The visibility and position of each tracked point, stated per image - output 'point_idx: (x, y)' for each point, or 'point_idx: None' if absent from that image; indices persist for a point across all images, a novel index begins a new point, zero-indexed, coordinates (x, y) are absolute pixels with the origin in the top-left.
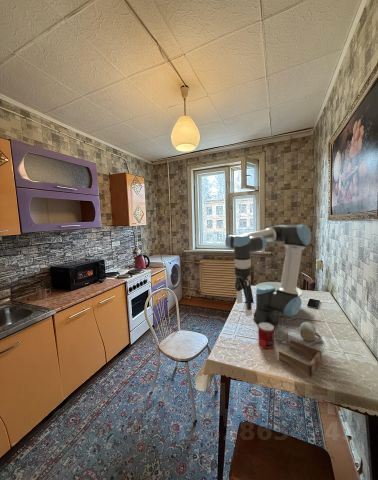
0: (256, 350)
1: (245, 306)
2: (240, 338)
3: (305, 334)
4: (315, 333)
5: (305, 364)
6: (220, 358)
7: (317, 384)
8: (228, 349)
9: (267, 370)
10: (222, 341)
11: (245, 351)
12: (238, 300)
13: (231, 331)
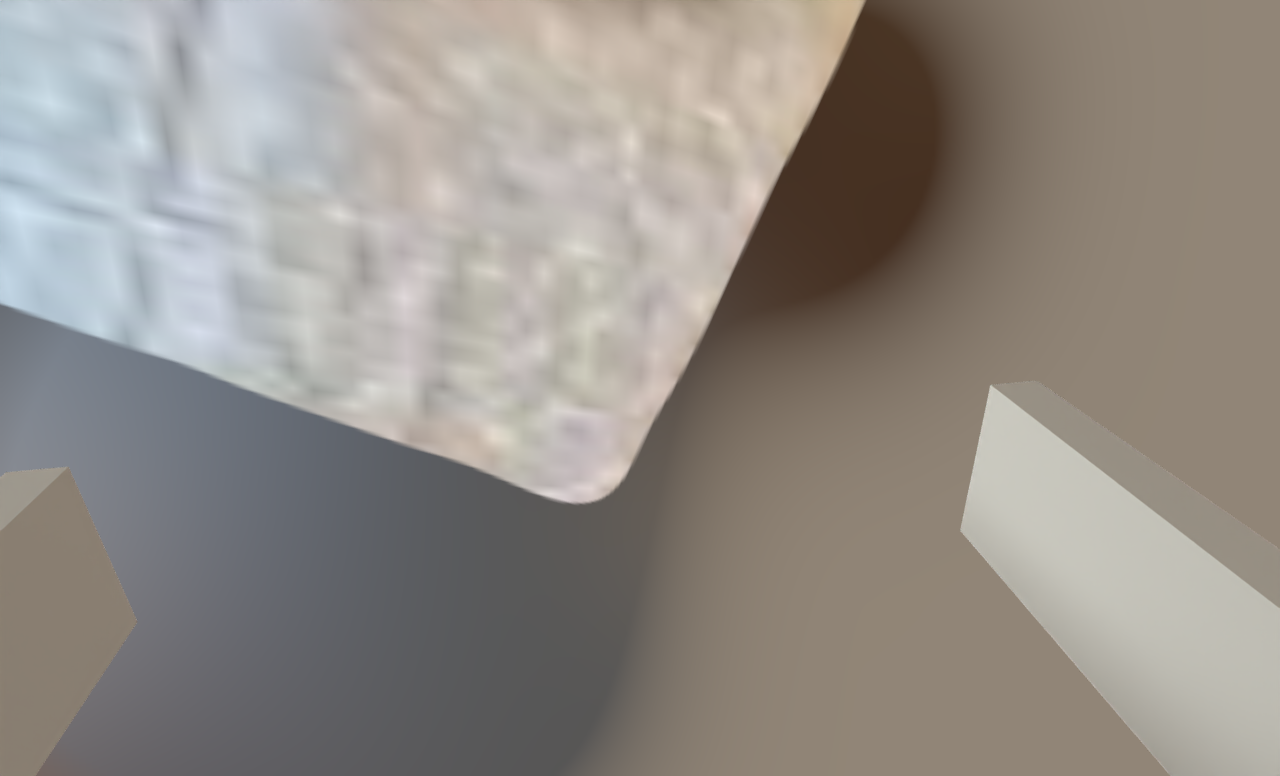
0: (480, 20)
1: (1185, 768)
2: (225, 160)
3: None
4: None
5: None
6: (598, 440)
7: None
8: (463, 349)
9: (810, 22)
10: (317, 390)
11: (498, 170)
12: (61, 664)
13: (59, 245)
